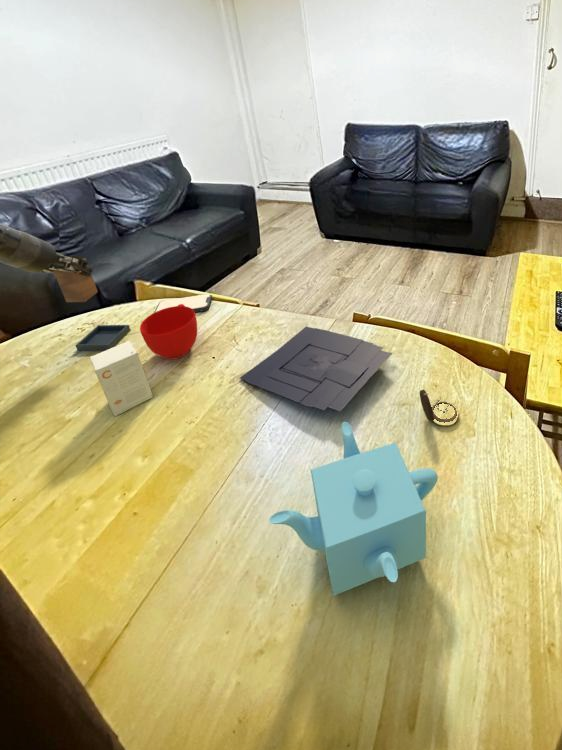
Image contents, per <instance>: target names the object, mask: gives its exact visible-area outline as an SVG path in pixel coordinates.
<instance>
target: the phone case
mask: <svg viewBox="0 0 562 750" xmlns="http://www.w3.org/2000/svg"><path fill="white" fill-rule="evenodd" d="M209 294H210V293H202V294H198V295H191V296H190V295H189V296H183V297H177V298H171V299H166V300H165V299H164V300H161V301H160V302H158V304H157V306H156V308H155V310H154V311H153V313H155V312H157V311H160V310H162V309H165V308H169V307H175V306H178V305H179V304H183V305H184V306H186V307H189V308H192V309H193V310H194V312H195V313H198V312H204V311H207V310H209V309H210V307H211V304H212V301H213V294H212V295H209Z"/></svg>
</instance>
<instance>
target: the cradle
mask: <svg viewBox="0 0 562 750" xmlns="http://www.w3.org/2000/svg"><path fill="white" fill-rule="evenodd" d="M130 331H131V327H130V324H97V326H95V327H94V328H93V329H92V330H90V332H89V333H88V334H86V335H85V336H84V337H83V338H82V339H81V340H79V342H77V343H76V344H75V345H74V346H75V349H76V350H77V351H76V352H103V351H106V350H108V349H111V348H113V347H115V346H118V345H119V344H118V343H120V342H121V341H122V340H123V339H124V338H125V337H126V336H127V334H128V333H130Z"/></svg>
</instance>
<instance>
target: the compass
mask: <svg viewBox="0 0 562 750" xmlns="http://www.w3.org/2000/svg"><path fill="white" fill-rule="evenodd" d="M419 399H420V404H421V407H422V410H423V412H424V416H425V418H426V419H427V421H428V422H433V420H434V419H436V420H437V421H439V422H444V423H445V422H450V421H453V420H454V419H455V418H456V416H457V411H456V408H457V407H456V406H455V405H454V404H453V403H451V402H449V403H447V402H448V401H440V399H439V400H438V402H439V401H440V402H439V403H438V402H435V403H436V404H435V403H434V404H435V405H434V406H433V407H431V406H432V404H431V400H430V398H429V392H426V390H425V389H421V390H420V391H419ZM442 403H444V404H447V405H448V406H449V405H450V406H452V407H453V408H454V410H455V414H454V416H453V417H452V418H450V419H447V418H446V419H440V418H438V417H437V416H436V415H435V414H434V412H433V410H434V408H435V406H436V405H437V406H438V407H439V404H442ZM450 403H451V404H450ZM452 404H453V405H454V406H455V407H456V408H455V407H454V406H453V405H452ZM437 406H436V407H437ZM448 406H447V407H448ZM437 409H438V410H439V408H437ZM445 410H446V412H447V411H448V410H447V408H446V409H445ZM440 411H442V410H440ZM443 413H445V411H443Z"/></svg>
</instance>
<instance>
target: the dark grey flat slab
mask: <svg viewBox="0 0 562 750" xmlns="http://www.w3.org/2000/svg"><path fill="white" fill-rule="evenodd" d="M383 349H384V347H383V346H381V345H376V344H374V343H373V342H371V341H366V340H364V339H361V338H358V337H355V336H354V337H353V336H350V335H346V334H342V333H337V332H334V331H331V330H326V329H321V328H318V327H317V328H316V327H311V326H305V327H304V328H302V329H301V330H300V331H299V332H298V333H296V334H295V335H294V336H293V337H291V338H289V340H288V341H286V343H284V344H283V345H282V346H280V347H279V348H278V349H277V350H276V351H274V352H272V353H271V354H270V355H268V356H266V358H264V359H263V360H261V362H259V363H258V364H257V365H255V366H253V367H252V368H251V369H249V370H248V371H246V373H244V374H243V375H241V376H240V377H239V379H240V380H243V381H244V382H246V383H248V384H250V385H253V386H256V387H258V388H260V389H261V388H262V389H264V390H266V391H269V392H272V393H274V394H276V395H279V396H281V397H284V398H287V399H289V400H292V401H293V402H296V403H299V404H300V405H303V406H306V407H309V408H311V407H314V408H317V409H320V410H322V411H325V410H327V408H330V409H333V410H336V411H339V412H342V410H343V409H344V408H345V407H346V406H347V405H348V403H350V401H351V400H352V399H353V398H354V397H355V395H357V393H358V392H359V391H360V390H361V389H362V387H363V386H364V385H365V384H367V382H368V381H369V379H371V377H372V376H373V375H374V374H375V373H376V372H377V371H378V370H380V367H381V366H383V365H384V364H385V363H386V361H387V360H388V359H389V358H390V357H391V356H392V355H393V353H392V352H389V351H384V350H383Z"/></svg>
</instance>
